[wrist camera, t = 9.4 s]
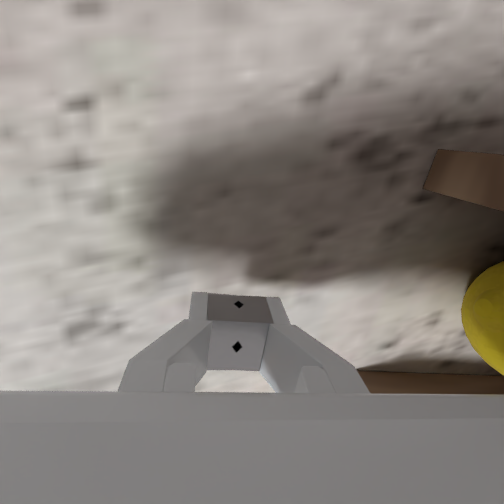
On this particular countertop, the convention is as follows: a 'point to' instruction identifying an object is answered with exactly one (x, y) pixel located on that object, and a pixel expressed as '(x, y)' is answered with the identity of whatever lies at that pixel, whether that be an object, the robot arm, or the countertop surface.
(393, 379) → the bay rack
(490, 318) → the lemon
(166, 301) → the countertop surface
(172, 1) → the countertop surface
